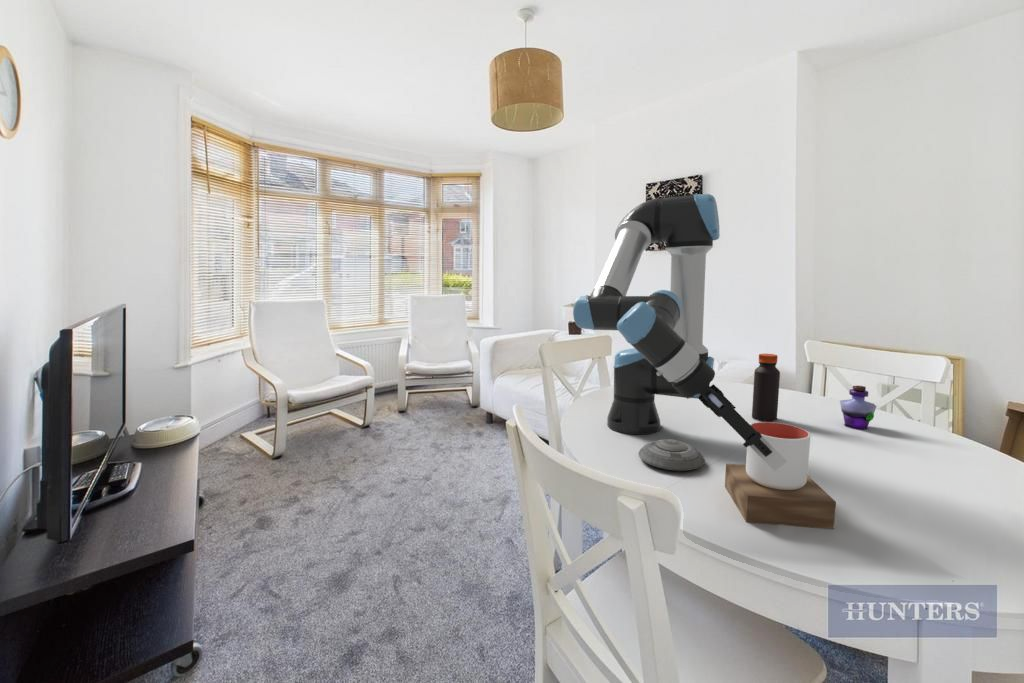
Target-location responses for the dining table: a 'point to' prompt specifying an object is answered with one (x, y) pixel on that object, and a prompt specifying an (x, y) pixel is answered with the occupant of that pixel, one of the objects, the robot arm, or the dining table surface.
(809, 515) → the walnut block
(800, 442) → the cup
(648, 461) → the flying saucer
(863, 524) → the dining table surface
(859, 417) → the potion bottle
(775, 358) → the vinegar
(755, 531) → the dining table surface
